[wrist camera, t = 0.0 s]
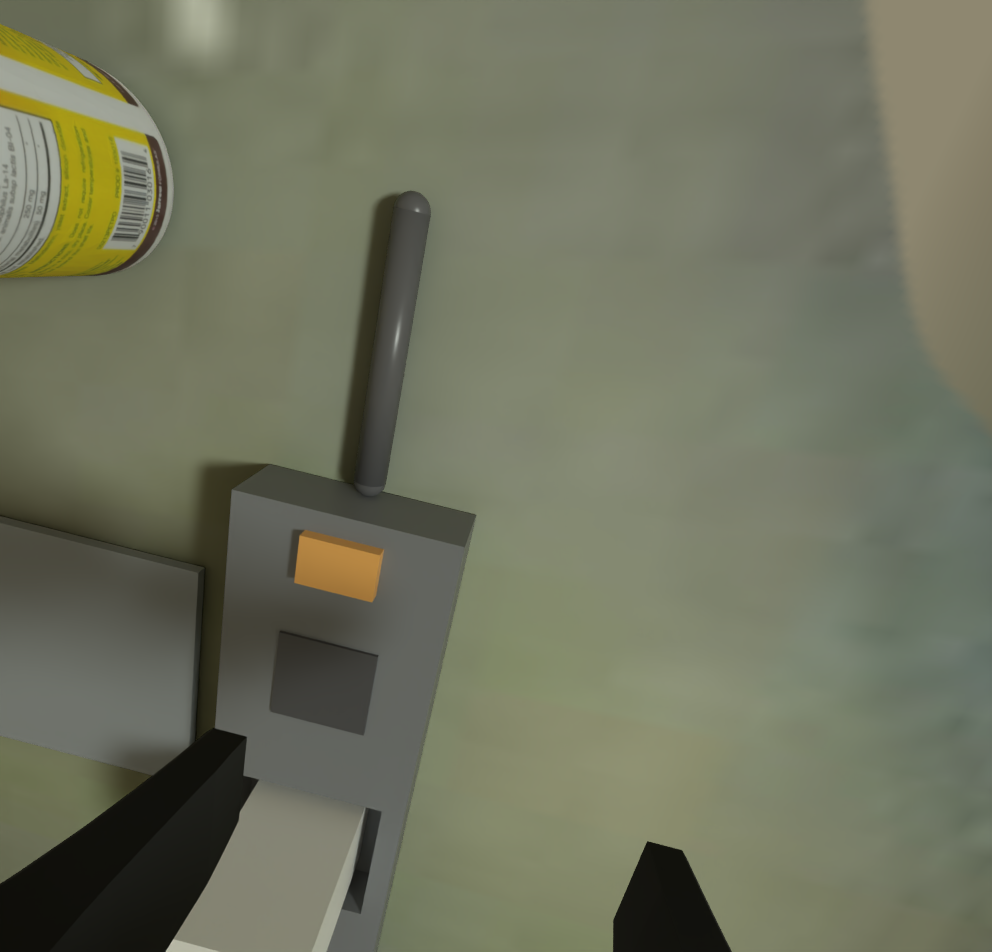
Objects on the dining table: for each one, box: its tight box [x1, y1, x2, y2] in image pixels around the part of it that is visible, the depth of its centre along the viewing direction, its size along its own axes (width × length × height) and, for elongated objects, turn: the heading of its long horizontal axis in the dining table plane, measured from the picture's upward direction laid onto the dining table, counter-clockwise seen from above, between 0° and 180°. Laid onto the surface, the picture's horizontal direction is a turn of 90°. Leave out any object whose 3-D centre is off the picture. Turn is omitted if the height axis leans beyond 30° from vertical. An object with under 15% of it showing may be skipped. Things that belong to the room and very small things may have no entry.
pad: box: [0, 516, 205, 775], centre depth 23 cm, size 10×10×1 cm
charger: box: [166, 780, 369, 952], centre depth 20 cm, size 4×4×7 cm
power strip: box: [215, 191, 476, 952], centre depth 20 cm, size 31×7×3 cm, turn 167°
